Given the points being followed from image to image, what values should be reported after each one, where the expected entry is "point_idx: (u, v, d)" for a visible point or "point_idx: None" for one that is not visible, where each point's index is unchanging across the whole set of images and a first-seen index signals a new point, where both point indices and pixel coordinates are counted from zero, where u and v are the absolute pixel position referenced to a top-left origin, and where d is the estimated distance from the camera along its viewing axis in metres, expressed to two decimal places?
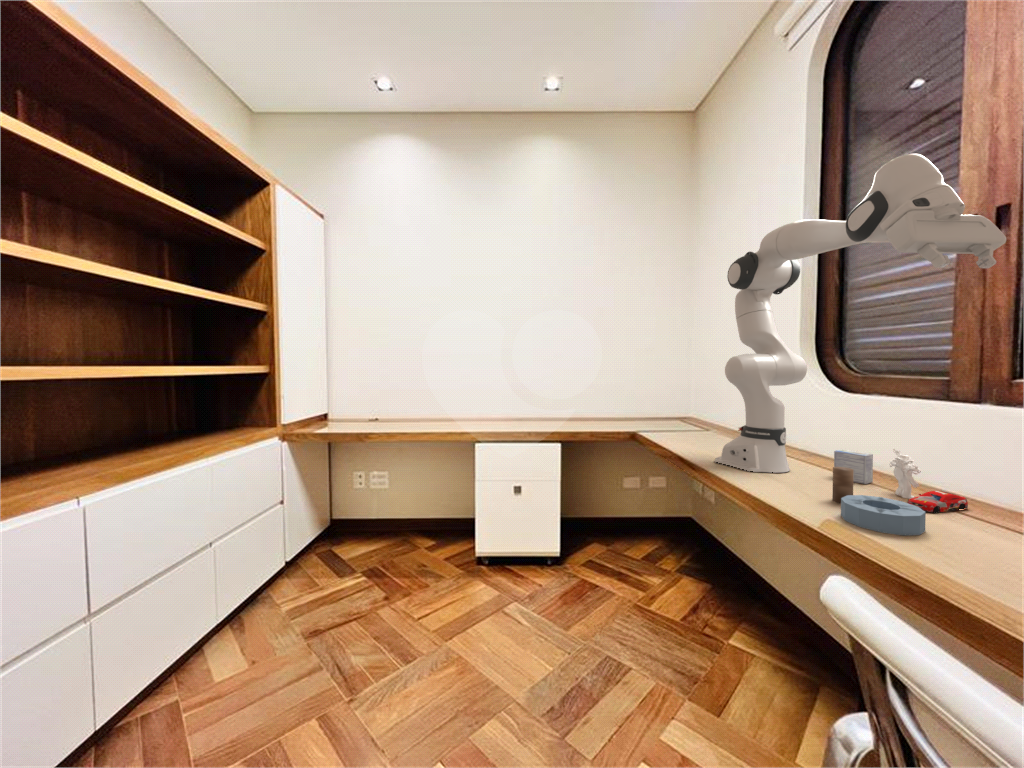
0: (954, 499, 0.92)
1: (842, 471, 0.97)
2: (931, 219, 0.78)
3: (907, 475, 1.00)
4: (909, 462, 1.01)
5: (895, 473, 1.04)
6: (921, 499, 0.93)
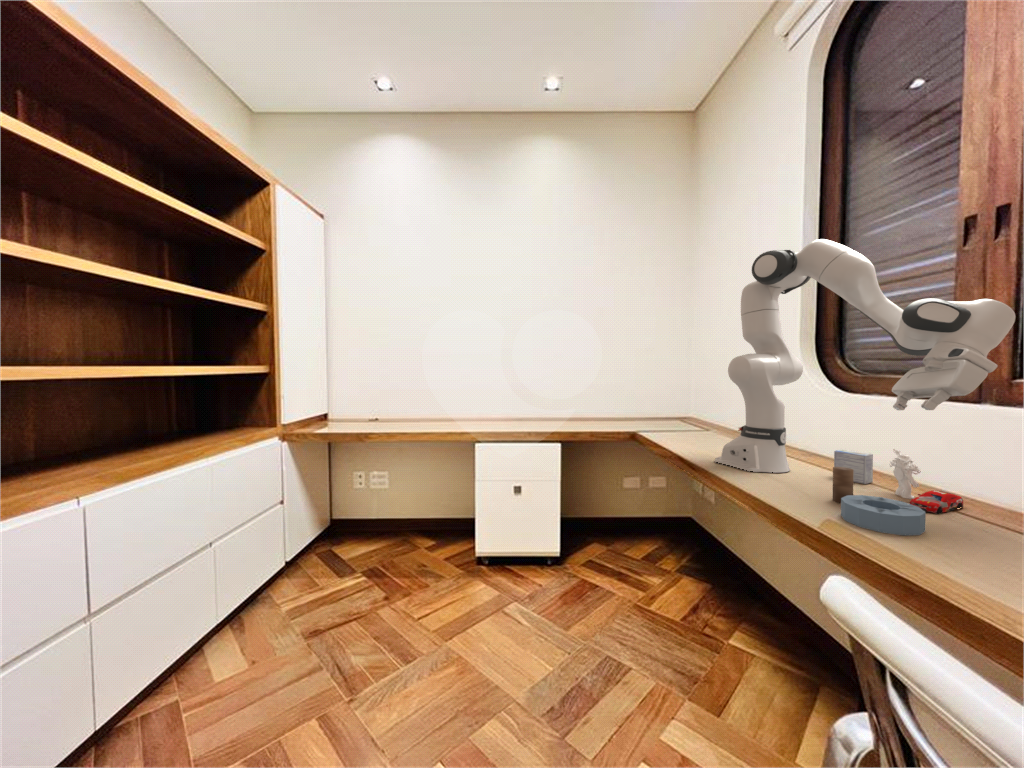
0: (953, 499, 0.92)
1: (842, 471, 0.97)
2: None
3: (907, 475, 1.00)
4: (909, 462, 1.01)
5: (895, 473, 1.04)
6: (923, 500, 0.93)
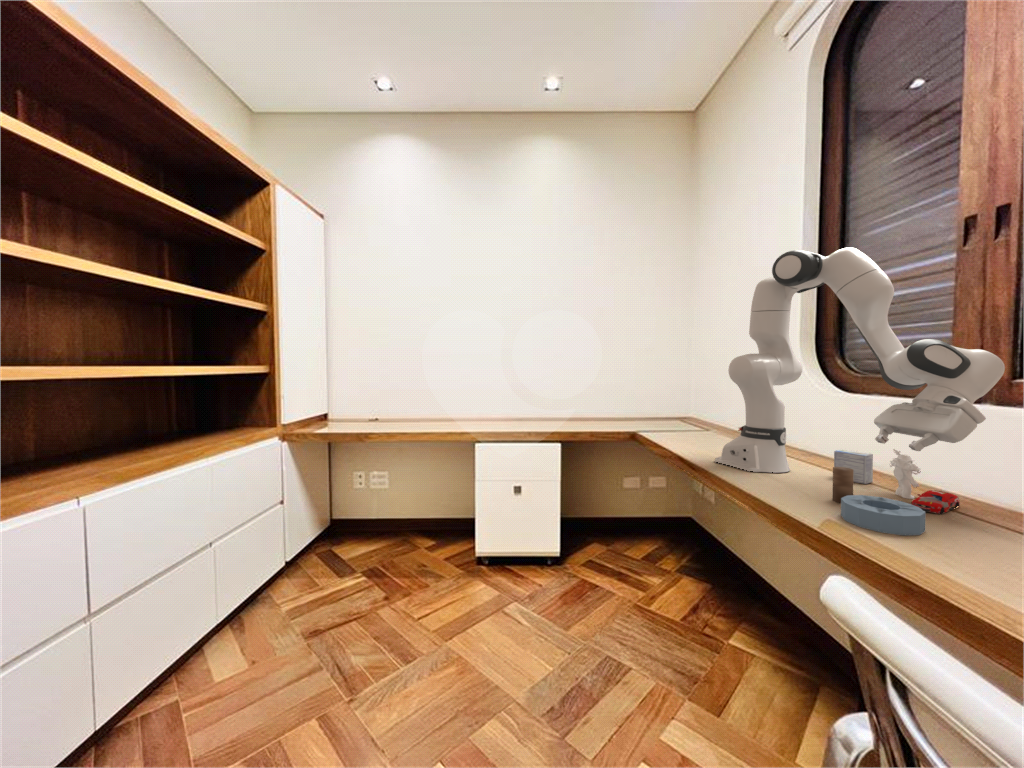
0: (951, 498, 0.93)
1: (842, 471, 0.97)
2: None
3: (907, 475, 1.00)
4: (909, 462, 1.01)
5: (895, 473, 1.04)
6: (925, 500, 0.92)
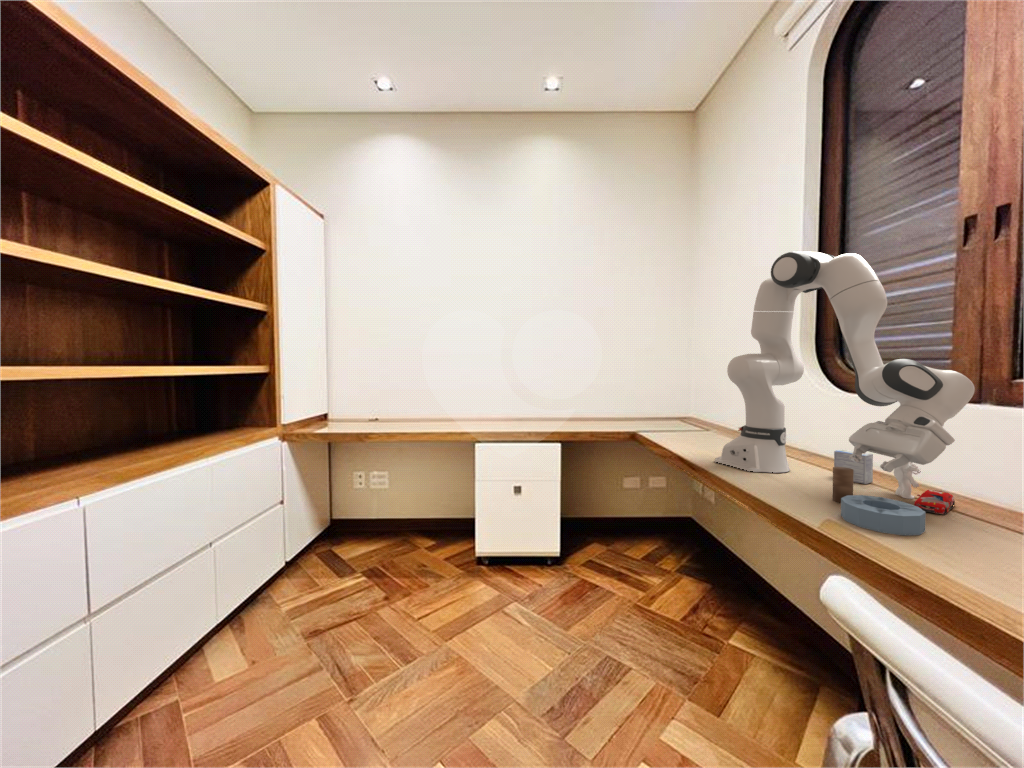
0: (949, 498, 0.93)
1: (842, 471, 0.97)
2: None
3: (907, 475, 1.00)
4: (909, 462, 1.01)
5: (895, 473, 1.04)
6: (928, 501, 0.92)
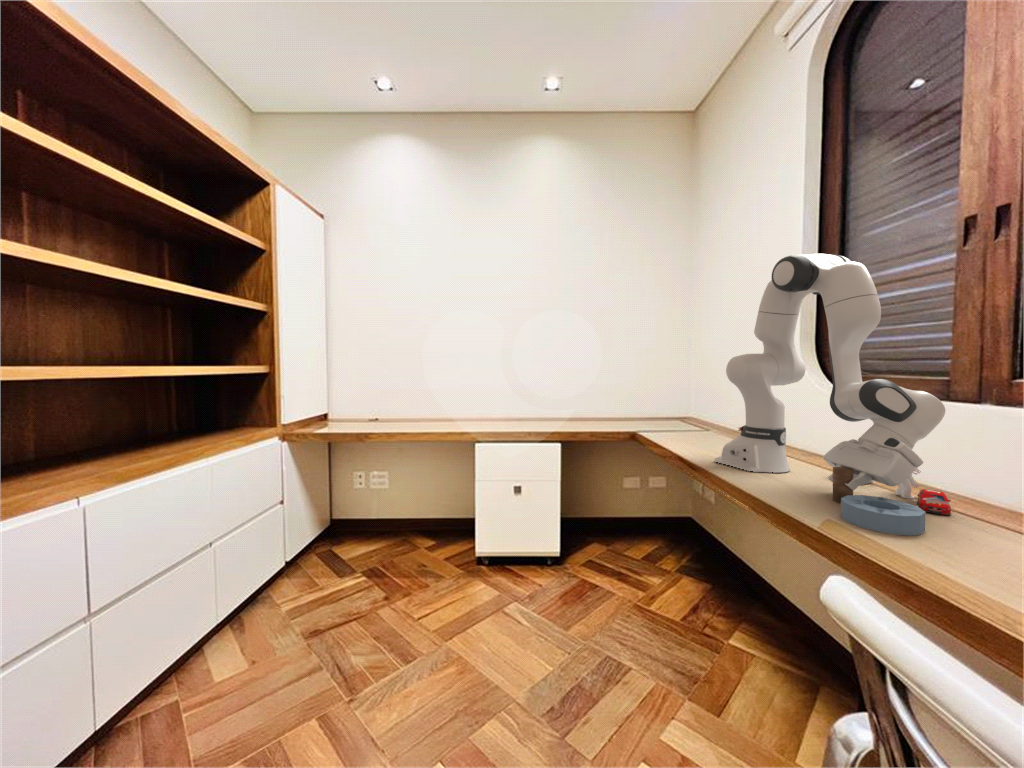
0: (946, 497, 0.94)
1: (842, 471, 0.97)
2: None
3: None
4: None
5: None
6: (932, 502, 0.91)
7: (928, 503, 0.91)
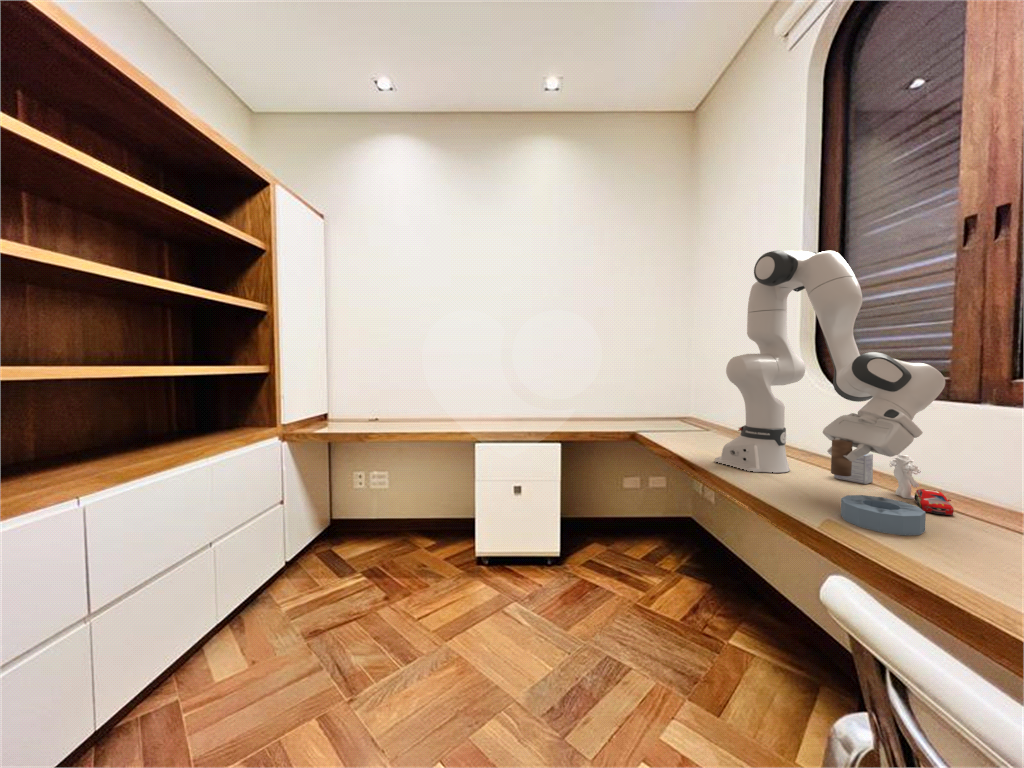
0: None
1: (841, 443, 0.97)
2: None
3: (907, 475, 1.00)
4: (909, 462, 1.01)
5: (895, 473, 1.04)
6: (935, 502, 0.91)
7: (931, 504, 0.91)
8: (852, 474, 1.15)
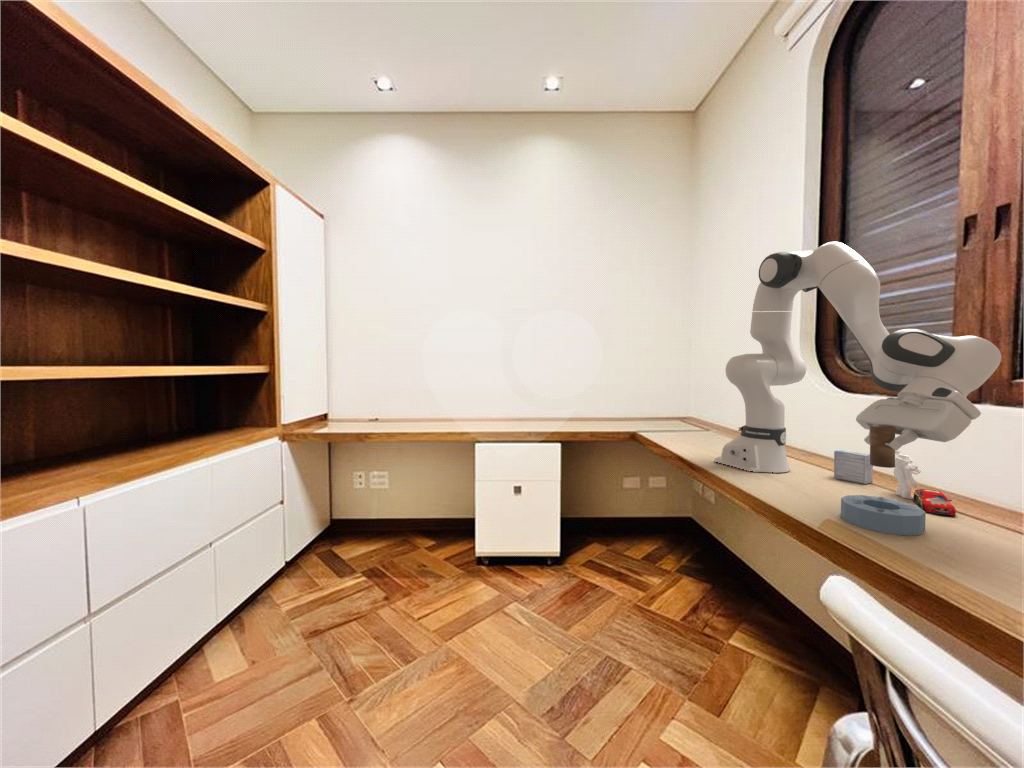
0: None
1: (882, 429, 0.84)
2: None
3: (907, 475, 1.00)
4: (909, 462, 1.01)
5: (895, 473, 1.04)
6: (937, 502, 0.91)
7: (934, 504, 0.90)
8: (852, 474, 1.15)
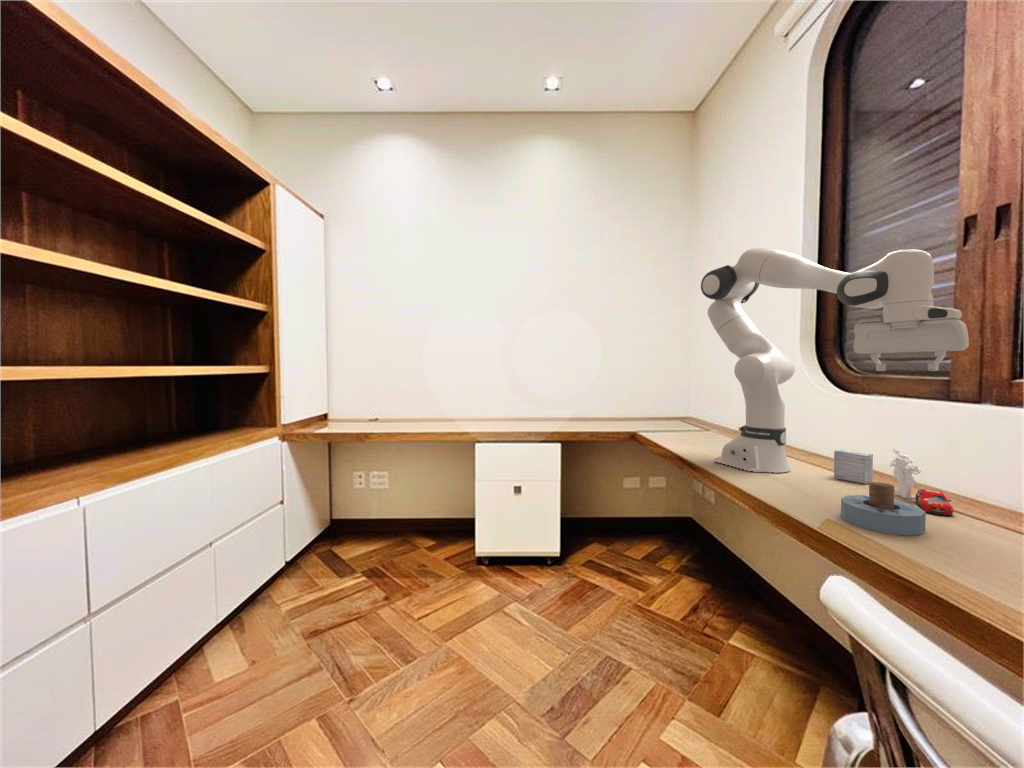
0: None
1: (881, 488, 0.84)
2: None
3: (907, 475, 1.00)
4: (909, 462, 1.01)
5: (895, 473, 1.04)
6: (934, 502, 0.91)
7: (930, 504, 0.91)
8: (852, 474, 1.15)
